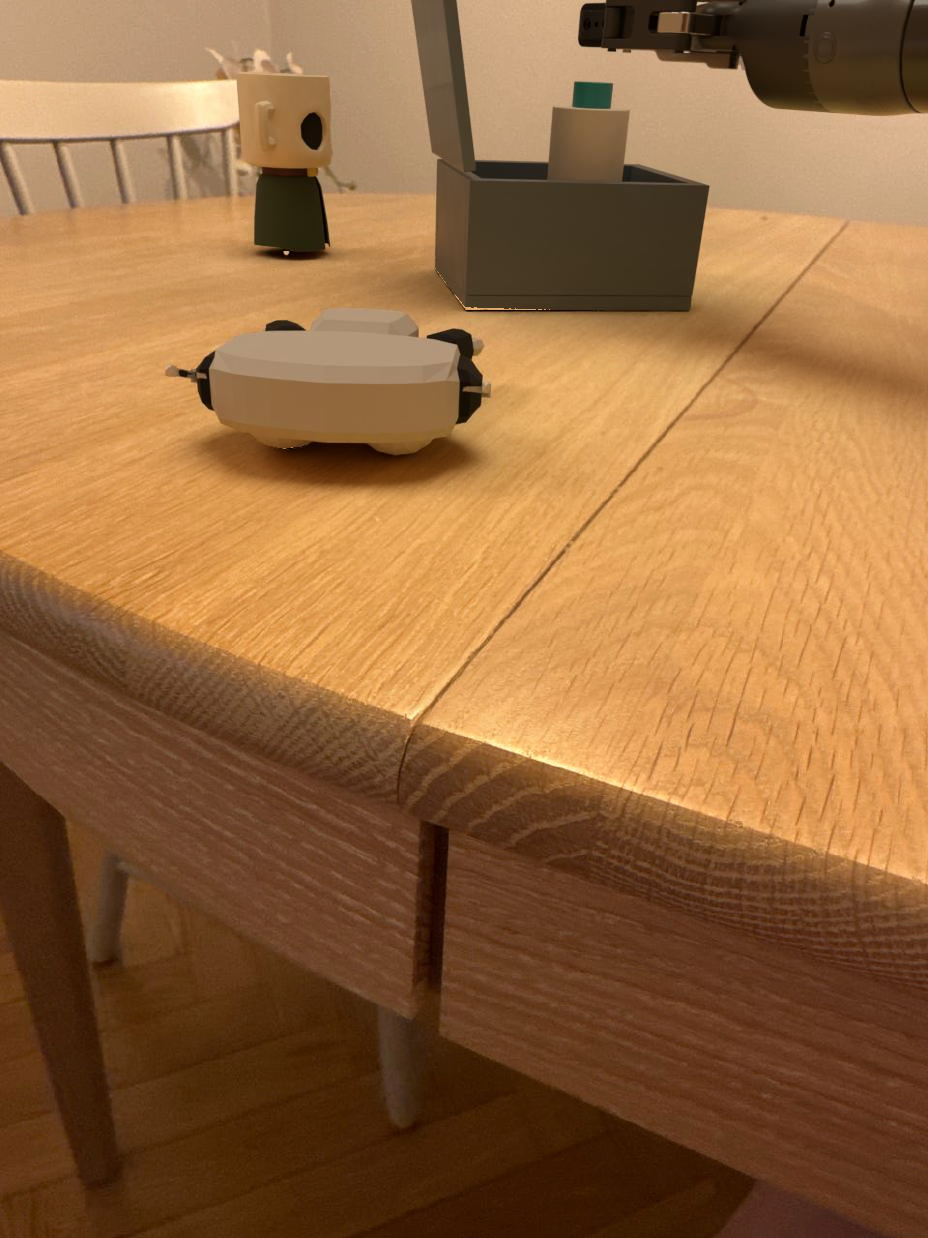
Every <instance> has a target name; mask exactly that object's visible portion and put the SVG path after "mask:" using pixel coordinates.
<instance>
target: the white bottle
mask: <svg viewBox="0 0 928 1238" xmlns="http://www.w3.org/2000/svg"><path fill="white" fill-rule="evenodd" d="M613 90H614V83H613V82H605V81H604V82H602V81H582V80H581V81H580V80H579V81H577V80H575V81H574V82H573V90H572V91H573V92H572V102H571V105H553V106H552V112H551V124H550V136H549V137H550V138H549V150H548V161H547V162H548V175H547V180H567V181H609V182H622V176H623V168H624V164H625V159H626V157H625V156H626V151H627V142H628V141H627V140H628V132H629V131H628V130H629V123H630V114H631V110H630V108H629V109H628V108H623V107H621V108H620V107H612V102H613V101H612V99H613Z"/></svg>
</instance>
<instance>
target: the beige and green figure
mask: <svg viewBox="0 0 928 1238" xmlns="http://www.w3.org/2000/svg"><path fill="white" fill-rule="evenodd" d="M235 78H236V92H237V106H238V118H239V119H238V120H239V132H240V146H241V156H242V160H243V162H245V163H247V164H249V165H251V166H255V167H261V174H259V175H258V178H257V181H256V184H255V199H254V200H255V201H254V215H253V217H254V218H253V244H254V245H255V246H259V247H260V246H261V247H267V248H276V249H282V250H281V251H282V252H283V251H290V252H295V253H299V252H301V253H303V252H305V253H306V252H307V253H308V252H309V253H311V252H317V251H318V252H319V251H325V250H326V245H328V247H329V248H330V247H331V241H330V239H331V238H330V231H329V223H328V216H327V211H326V205H325V200H324V194H323V189H322V185H321V183H320V181H319V178H318V175H319V169H320V168H325V167H327V166H330V165H331V164H332V158H333V153H334V152H333V150H334V149H333V144H332V133H331V121H332V119H331V118H332V103H331V102H332V101H331V89H330V88H331V86H330V84H331V83H330V76H328V75H324V74H323V75H321V74H320V75H319V74H304V73H287V72H285V73H283V72H263V71H262V72H261V71H260V72H259V71H258V72H257V71H238V72H236V77H235Z"/></svg>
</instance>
